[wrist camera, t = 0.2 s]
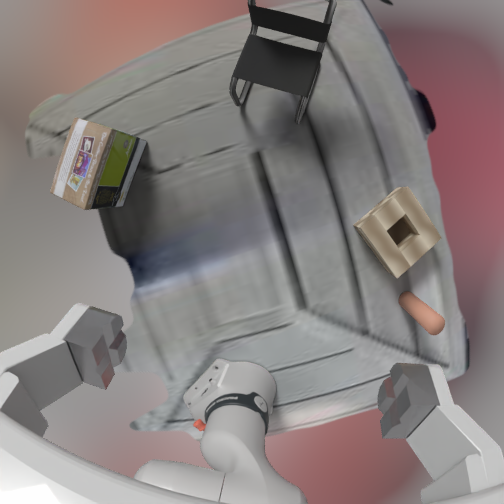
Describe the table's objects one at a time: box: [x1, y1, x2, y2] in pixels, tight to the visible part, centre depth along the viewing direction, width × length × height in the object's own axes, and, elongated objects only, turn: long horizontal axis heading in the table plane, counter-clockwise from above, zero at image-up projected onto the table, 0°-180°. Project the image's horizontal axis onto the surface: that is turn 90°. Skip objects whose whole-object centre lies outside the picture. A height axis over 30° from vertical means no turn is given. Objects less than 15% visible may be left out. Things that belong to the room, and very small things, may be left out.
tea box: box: [50, 118, 147, 210], centre depth 54 cm, size 15×10×15 cm, turn 157°
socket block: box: [353, 187, 441, 278], centre depth 55 cm, size 12×12×6 cm
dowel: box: [399, 291, 445, 335], centre depth 53 cm, size 4×4×15 cm
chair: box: [229, 0, 337, 124], centre depth 44 cm, size 13×17×22 cm
